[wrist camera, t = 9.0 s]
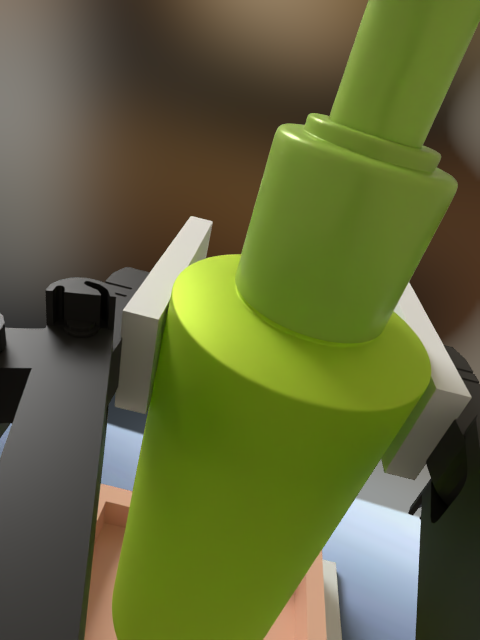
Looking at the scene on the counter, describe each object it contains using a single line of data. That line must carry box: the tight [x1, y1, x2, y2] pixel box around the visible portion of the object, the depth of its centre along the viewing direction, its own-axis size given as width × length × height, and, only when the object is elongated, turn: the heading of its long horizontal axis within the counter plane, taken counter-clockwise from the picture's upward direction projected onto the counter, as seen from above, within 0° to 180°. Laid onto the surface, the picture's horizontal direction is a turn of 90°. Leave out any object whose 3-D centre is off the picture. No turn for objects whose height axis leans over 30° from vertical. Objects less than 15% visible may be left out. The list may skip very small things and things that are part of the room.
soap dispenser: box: [112, 0, 480, 640], centre depth 11 cm, size 6×7×20 cm
